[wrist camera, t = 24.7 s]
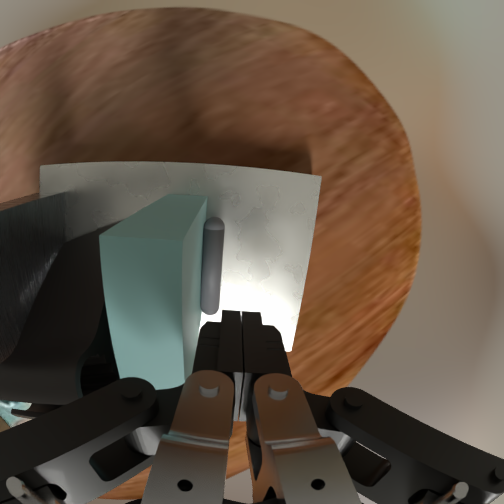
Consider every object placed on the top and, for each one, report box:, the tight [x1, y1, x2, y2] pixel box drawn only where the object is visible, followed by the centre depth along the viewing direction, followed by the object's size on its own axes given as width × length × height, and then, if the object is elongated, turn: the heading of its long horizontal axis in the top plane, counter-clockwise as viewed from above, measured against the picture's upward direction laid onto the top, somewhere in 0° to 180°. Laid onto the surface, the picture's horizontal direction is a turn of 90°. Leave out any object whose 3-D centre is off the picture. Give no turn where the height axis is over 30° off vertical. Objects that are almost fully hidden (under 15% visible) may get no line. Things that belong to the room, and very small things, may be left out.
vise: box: [0, 161, 321, 364], centre depth 14 cm, size 14×20×12 cm
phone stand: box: [0, 221, 121, 419], centre depth 13 cm, size 9×6×12 cm, turn 14°
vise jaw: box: [99, 194, 225, 390], centre depth 13 cm, size 8×4×10 cm, turn 174°
